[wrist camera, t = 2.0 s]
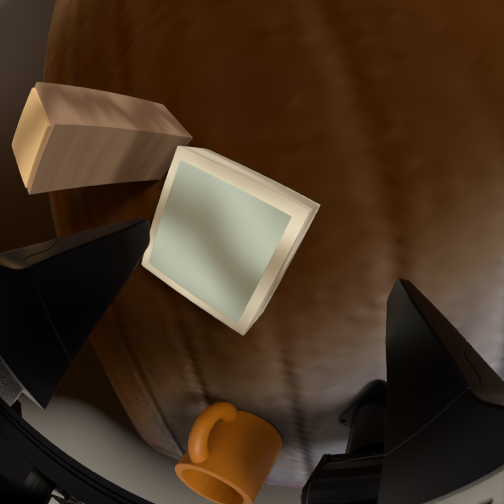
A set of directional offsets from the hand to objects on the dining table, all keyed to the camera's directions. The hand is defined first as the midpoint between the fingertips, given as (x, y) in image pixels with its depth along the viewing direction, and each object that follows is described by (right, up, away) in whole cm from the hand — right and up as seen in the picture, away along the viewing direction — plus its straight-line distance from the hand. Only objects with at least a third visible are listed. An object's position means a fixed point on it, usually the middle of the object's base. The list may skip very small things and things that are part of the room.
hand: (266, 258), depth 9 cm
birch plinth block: (-2, +2, +13) cm, 14 cm away
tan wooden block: (-9, +10, +14) cm, 19 cm away
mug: (-1, -20, +19) cm, 27 cm away
